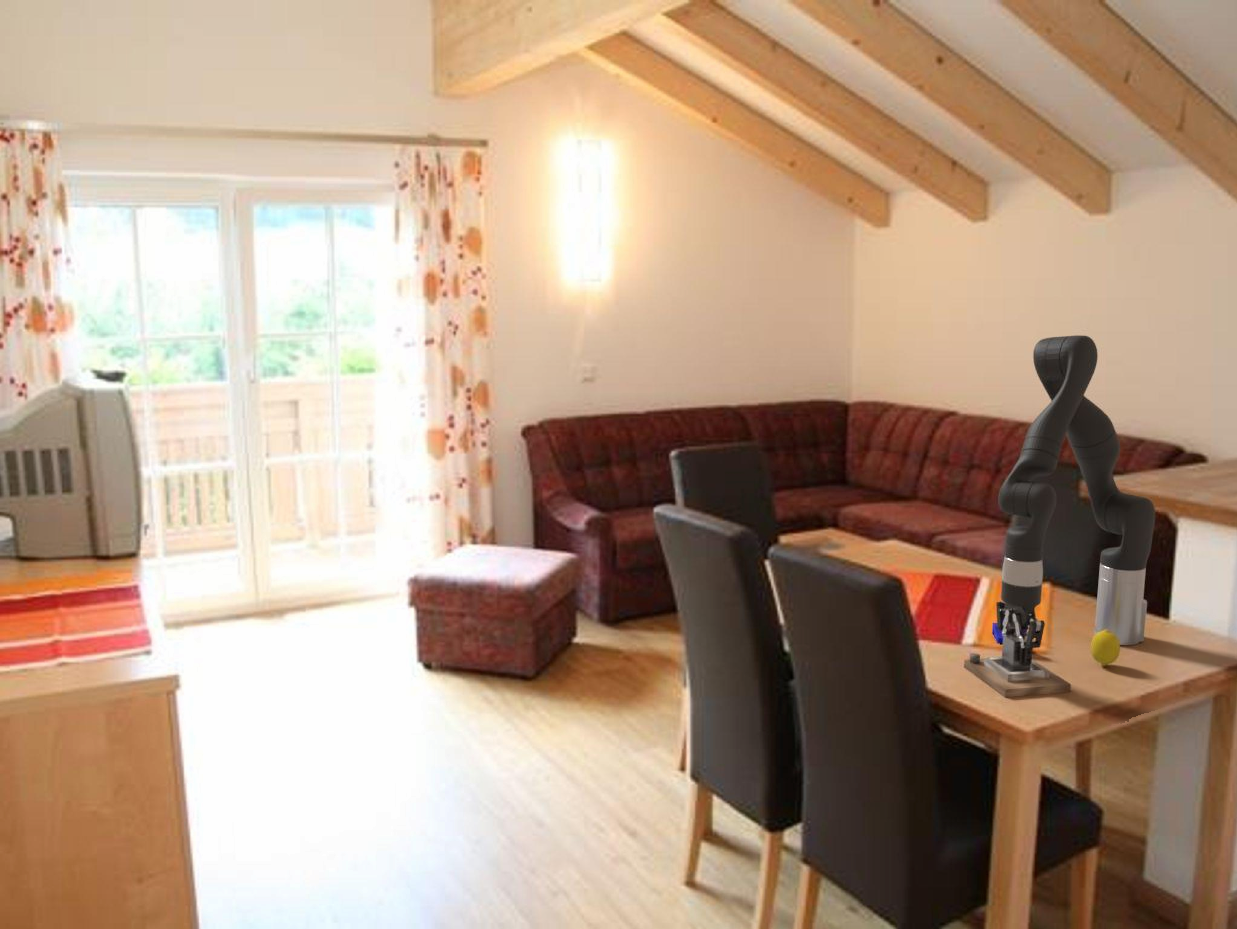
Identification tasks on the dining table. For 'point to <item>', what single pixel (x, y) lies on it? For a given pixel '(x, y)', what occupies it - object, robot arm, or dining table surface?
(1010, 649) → the hinge block
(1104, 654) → the lemon
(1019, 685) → the door panel
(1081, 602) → the dining table surface
